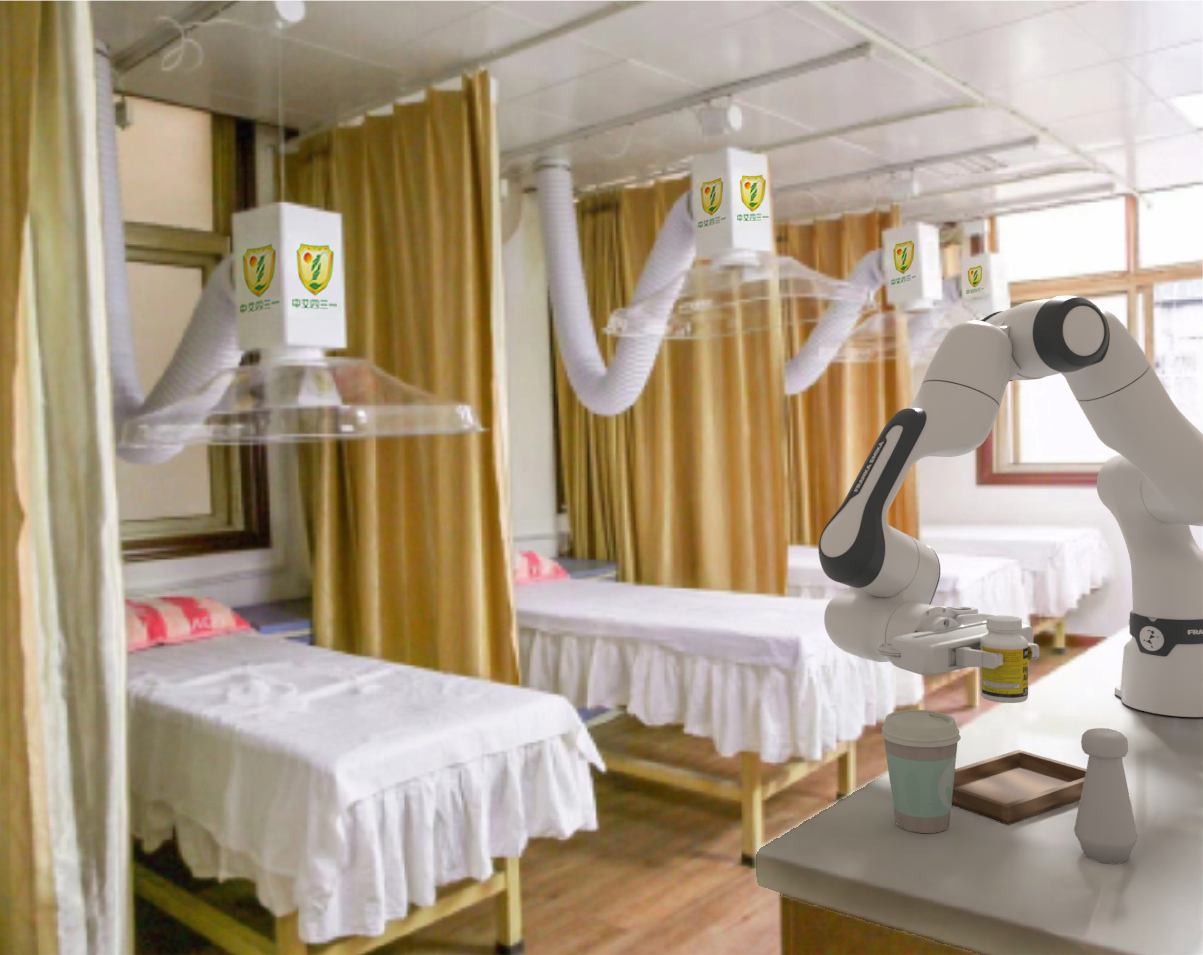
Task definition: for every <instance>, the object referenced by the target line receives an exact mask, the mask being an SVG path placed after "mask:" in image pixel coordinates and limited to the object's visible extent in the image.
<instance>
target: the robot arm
mask: <svg viewBox="0 0 1203 955" xmlns="http://www.w3.org/2000/svg"><path fill="white" fill-rule="evenodd" d="M1139 344H1140V343H1138V342H1137V340H1136V339H1135V337H1134V336H1133V335H1132V334H1131V333H1130V331H1129V330H1128V328H1126V326H1125V324H1123V322H1121V320H1120V319H1119V318H1118V317H1117V316H1116V315H1115V314H1114V313H1112V312H1110V311H1106V310H1104V309H1100V308H1099V307H1098V306H1097V304H1095V303H1094V302H1092V301H1090V300H1089V299H1087V298H1084V297H1080V296H1075V295H1059V296H1055V297H1052V298H1046V299H1045V298H1044V299H1037V300H1033V301H1028V302H1023V303H1021V304H1018V305H1016V306H1014V307H1011V308H1007V309H1006V310H1000V311H996V312H993V313H991V314H988V315H987V316H985V317H983V318H982V319H981V320H967V321H962V322H959V323H957V324H956V325H954V326H952V327H951V328H950V329H949V330H948V332H947V333H946V335H945V336H944V338H943V340H942V341H941V343H940V344H939V347H938V348H937V349H936V351H935V353H934V355H933V358H932V359H931V361H930V363H929V366H928V368H927V370H926V372H925V375H924V376H923V379H922V383H921V385H920V387H919V390H918V392H917V394H916V396H915V398H914V399H913V400H912V402H911V403H910V405H909V406H908V407H907V408H903V409H901V410H899V411H898V412H896V413H894V415H893V416H891V418H890V419H889V420H888V422H887V423H886V425H885V426H884V428H883V429H882V431H881V432H880V433H879V435H878V437H877V439H876V441H875V442H874V444H873V447H872V448H871V450H870V452H869V454H868V455H867V457H866V460H864V463H863V465H862V467H861V469H860V471H859V472H858V474H857V475H856V478H855V480H854V481H853V483H852V485H851V487H850V489H849V491H848V493H847V495H846V497H845V498H844V500H843V502H842V503H841V504H840V506H839V508H838V509H837V511H836V512H835V513H834V514H833V515H832V516H831V518H830V519H829V521H828V522H827V523H826V525H825V526H824V528H823V529H822V531H821V534H820V536H819V540H818V559H819V562H820V566H821V568H822V570H823V572H824V574H825V575H826V577H828V578H829V579H830V580H832V581H833V582H836V583H840V584H842V585H845V586H849V587H848V588H847V589H845V591H844V592H842V593H840V594H838V595H836V596H835V597H832V598H831V599H830V601H829V602H828V604H826V608H825V610H824V617H823V619H824V620H823V621H824V627H825V630H826V634H827V635H828V637H829V639H830V640H831V642H832V643H833V644H834V645H835V646H836V647H837V648H839V649H840V650H842V651H843V652H846V653H847V654H850V655H853V656H855V657H857V658H861V659H865V660H868V661H871V662H872V661H873V662H877V663H888V662H890V663H891V664H892V665H893V666H895V667H896V668H898V669H902V670H905V671H908V672H911V673H914V674H918V675H922V676H936V675H937V676H938V675H941V674H945V673H950V672H954V671H959V670H963V669H966V668H980V667H985V668H990V669H995V668H998V667H1002V666H1003V661H1002V660H1003V655H1002V653H1001V652H995V651H991V650H990V651H981V650H980V642H981V638H982V637H983V636H984V635H985V634H988V630H987V627H986V618H987V617H989V616H996V614H995V615H994V614H986V613H979V609H978V608H975V607H970V606H942V605H936V604H932V602H933V599H934V598H935V594H936V592H937V590H938V587H939V584H940V583H939V582H940V579H941V563H940V559H939V557H938V555H937V553H936V551H935V550H934V549H933V548H932V547H931V546H930V545H928V544H926V543H924V542H922V541H920V540H918V539H917V538H915V537H913V536H911V535H909V534H907V533H905V532H903V531H901V530H899V529H897V528H895V527H894V526H891V525H890V524H889V522H888V519H887V517H888V512H889V509H890V507H891V506H892V504H893V502H894V501H895V499H896V496H897V495H898V494H899V491H900V489H901V487H902V485H903V483H904V482H905V480H906V477H907V475H908V473H909V472H910V471H911V468H912V467H913V466H914V465H915V464H916V463H917V462H919V461H920V460H921V459H923V458H927V457H928V458H929V457H938V458H939V457H940V458H941V457H942V458H952V457H953V458H954V457H959V456H963V455H966V454H968V453H971V452H973V451H974V450H976V449H978V448H979V447H981V446H982V445H983V444H984V442H985V441H986V440H987V439H988V436H989V435H990V433H991V431H992V429H993V427H994V425H995V422H996V419H997V416H998V413H999V410H1000V407H1001V404H1002V402H1003V398H1004V395H1005V392H1006V388H1007V386H1008V384H1009V382H1013V381H1032V380H1040V379H1043V378H1046V377H1050V376H1055V375H1058V374H1061V375H1063V377H1064V378H1065V380H1066V383H1067V385H1068V386H1069V389H1070V391H1071V392H1072V394H1073V396H1074V398H1075V399H1076V401H1077V403H1078V405H1079V406H1080V408H1081V410H1082V412H1083V414H1084V415H1085V418H1087V420H1088V422H1089V424H1090V425H1091V427H1092V429H1093V431H1094V432H1095V435H1096V436H1097V438H1098V439H1099V440H1100V441H1101V443H1103V444H1104V445H1105V446H1106V447H1108V448H1110V449H1112V450H1113V451H1115V452H1116V453H1118V454H1117V455H1114V456H1113V457H1110V458H1108V459H1107V461H1106V460H1105V462H1104V464H1103V465H1102V466H1101V467H1100V469H1099V472H1098V474H1097V479H1096V490H1097V495H1098V497H1099V500H1100V501H1101V503H1102V504H1103V505H1104V506H1105V507H1106V508H1107V510H1109V511H1110V513H1111V514H1112V516H1113V517H1114V518H1115V520H1116V522H1117V524H1118V527H1119V528H1120V531H1121V533H1122V536H1123V539H1124V542H1125V545H1126V548H1127V549H1126V550H1127V551H1128V555H1129V556H1128V557H1129V561H1130V569H1131V572H1130V573H1131V591H1132V610H1131V611H1130V612H1129V619H1128V625H1129V634H1130V636H1131V638H1130V639H1129V641H1127V642H1126V643H1125V644H1124V646H1123V653H1122V666H1121V677H1120V678H1121V680H1120V685H1117V686H1115V687H1114V692H1113V693H1114V695H1116V696H1117V697H1119V698H1121V702H1122V703H1123V704H1124V705H1125V706H1128V707H1130V708H1133V709H1135V710H1138V711H1141V712H1142V711H1144V712H1147V713H1152V714H1156V715H1163V716H1171V717H1172V716H1173V717H1180V718H1181V717H1182V718H1186V717H1187V718H1203V550H1202V549H1201V548H1200V546H1199V545H1198V544H1197V542H1196V540H1195V538H1194V536H1193V533H1192V530H1191V527H1190V526H1195V527H1203V433H1202V432H1201V431H1200V430H1199V429H1198V428H1197V427H1196V426H1195V425H1194V424H1193V423H1192V422H1191V421H1190V420H1189V419H1188V418H1186V416H1185V415H1184V414H1183V413H1182V412H1181V410H1180V409H1179V408H1178V407H1177V406H1176V404H1175V403H1174V401H1173V400H1172V398H1171V396H1170V395H1169V393H1168V392H1167V390H1166V388H1165V386H1163V385H1164V384H1163V383H1162V381H1161V380H1160V379H1159V377H1158V375H1157V374H1156V371H1155V370H1154V368H1153V366H1152V365H1151V364H1152V363H1150V360H1149V359H1148V358H1147V356H1146V354H1145V352H1144V351H1143V349H1142V347H1141V346H1140V345H1139ZM1020 635H1021V636H1023V637H1024V638H1025V639H1026V640H1027V642H1028V661H1032V660H1037V659H1039V658H1040V646H1039V644H1037V643H1034V630H1033V627H1032V626H1031V625H1030V624H1028V623H1027V622H1024V621H1022V630H1021V631H1020Z"/></svg>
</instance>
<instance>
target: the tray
mask: <svg viewBox="0 0 1203 955" xmlns="http://www.w3.org/2000/svg"><path fill="white" fill-rule="evenodd" d="M1086 770H1087V768H1084V767H1081V766H1077V765H1073V764H1070V763H1066V762H1062V761H1060V760H1056V759H1052V758H1049V757H1046V756H1042V755H1038V754H1035V753H1031V752H1028V751H1024V750H1021V749H1016V750H1014V751H1010V752H1007V753H1003V754H1000V755H996V756H993V757H990V758H987V759H983V760H980V761H976V762H973V763H971V764H967V765H964V766H963V765H962V766H961V767H957V768H955V773H954V784H953V794H952V804H951V806H953V807H956V808H958V809H962V810H965V811H967V812H969V813H973V814H976V815H978V816H981V817H984V818H987V819H990V820H992V821H995V822H998V823H1001V824H1003V825H1006V826H1010V825H1012V824H1015V823H1018V822H1021V821H1024V820H1026V819H1029V818H1030V819H1031V818H1032V817H1036V816H1037V815H1040V814H1043V813H1046V812H1050V811H1053V810H1054V809H1058V808H1060V807H1063V806H1066V805H1068V804H1072V803H1074V802H1078V801H1080V799H1081V794H1082V789H1083V784H1084V779H1085V774H1086Z"/></svg>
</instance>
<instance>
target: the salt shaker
mask: <svg viewBox="0 0 1203 955" xmlns="http://www.w3.org/2000/svg"><path fill="white" fill-rule="evenodd" d="M1128 741H1129V740H1128V738H1127V737H1126V736H1125V735H1124V734H1123V733H1122V732H1121V731H1118V730H1116V729H1115V730H1114V729H1110V728H1104V727H1103V728H1101V727H1098V728H1097V727H1094V728H1090V729H1087V730H1085V731H1084V732H1083V734H1082V735H1081V740H1080V742H1081V749H1082V752H1084V754H1086V755H1088V760H1087V765H1086V769H1087V770H1086V774H1085V779H1084V784H1083V789H1082V794H1081V799H1080V800H1079V803H1078V804H1079V805H1078V808H1077V814H1076V818H1075V823H1074V827H1073V831H1074V835H1075V837H1076V838H1077V841H1078V842H1079V844H1080V846H1081V849H1082V851H1083V853H1084V855H1085V857H1086V858H1087V859H1090V860H1093V861H1095V862H1097V863H1100V864H1115V865H1121V864H1122V863H1124V862H1126V861H1127V860H1129V858H1130V856H1131V854H1132V852H1133V850H1134V848H1135V846H1136V843H1137V841H1138V833H1137V829H1136V823H1135V818H1134V813H1133V807H1132V802H1131V797H1130V793H1129V788H1128V783H1127V777H1126V773H1125V766H1124V761H1123V758H1125V757H1126V756H1127V755H1128V752H1129V742H1128Z"/></svg>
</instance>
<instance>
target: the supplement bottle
mask: <svg viewBox="0 0 1203 955" xmlns="http://www.w3.org/2000/svg"><path fill="white" fill-rule="evenodd" d="M1022 620H1023V619H1022V618H1021V617H1018V616H1014V615H995V616H989V617H987V618H986V627H987V630H988V634H985V635H984V636H983V637H982V638H981V642H980V650H981V651H990V650H991V651H995V652H1001V653H1002V655H1003V660H1002V661H1003V666H1002V667H998V668H995V669H990V668H985V667H979V668H980V674H979V675H980V680H979V682H980V689H979V690H980V697H982V698H983V699H985V700H986V701H991V702H993V703H1001V704H1002V703H1003V704H1014V703H1015V704H1016V703H1017V704H1018V703H1023V702H1025V701H1027V700H1028V698H1029V660H1028V642H1027V640H1026V639H1025V638H1024V637H1023V636H1021V635H1020V631H1021V630H1022V622H1023V621H1022Z"/></svg>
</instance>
